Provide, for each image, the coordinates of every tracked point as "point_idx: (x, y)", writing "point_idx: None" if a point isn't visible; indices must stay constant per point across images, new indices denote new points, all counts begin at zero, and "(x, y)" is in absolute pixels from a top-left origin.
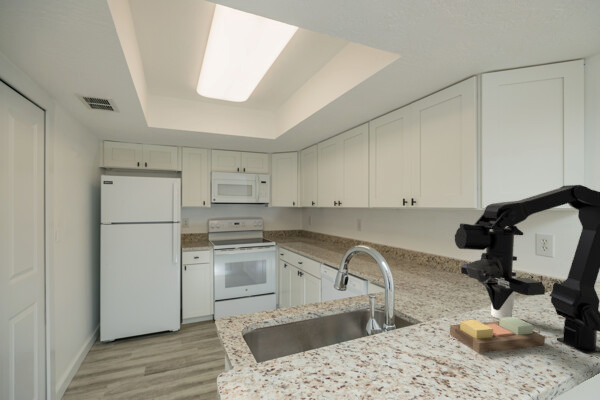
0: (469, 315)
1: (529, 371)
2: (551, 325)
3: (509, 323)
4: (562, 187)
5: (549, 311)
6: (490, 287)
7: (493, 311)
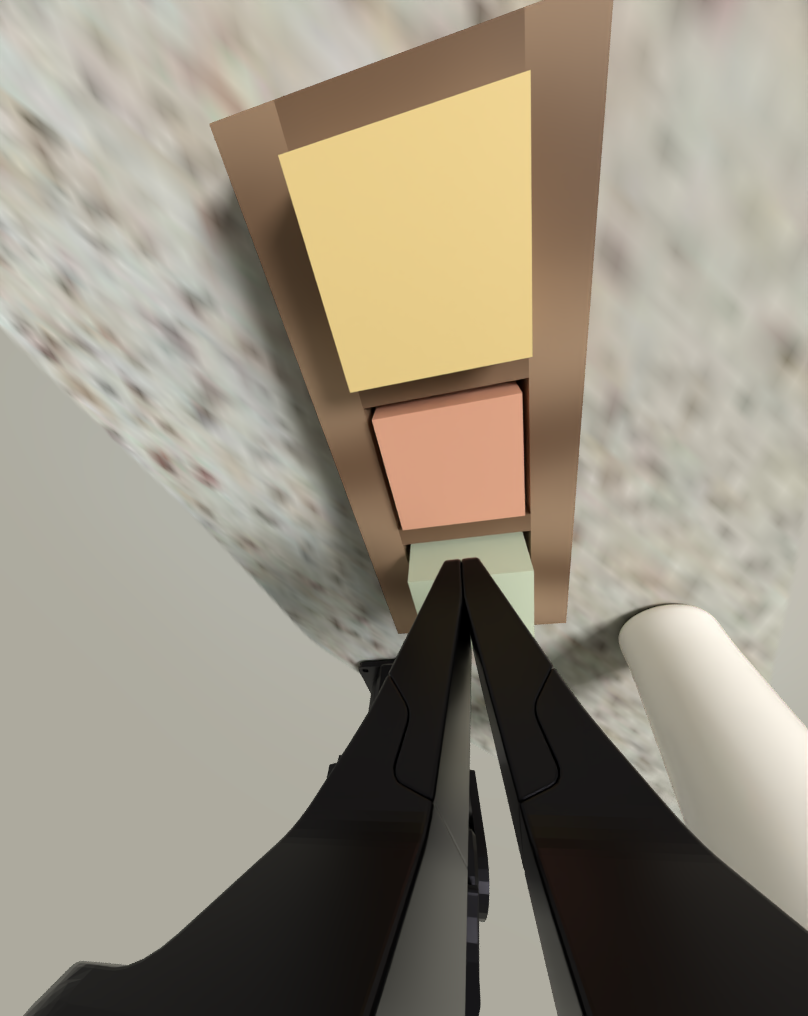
0: (771, 501)
1: (151, 378)
2: None
3: None
4: None
5: (633, 766)
6: (543, 891)
7: (698, 628)
